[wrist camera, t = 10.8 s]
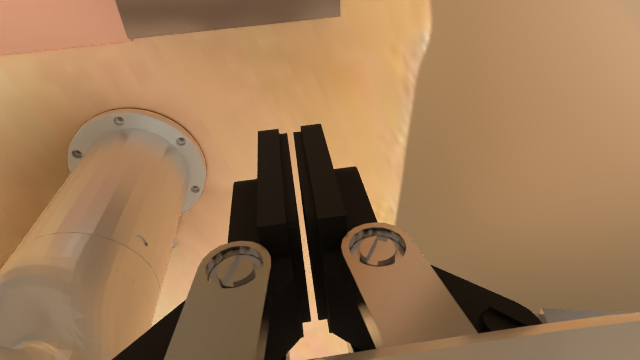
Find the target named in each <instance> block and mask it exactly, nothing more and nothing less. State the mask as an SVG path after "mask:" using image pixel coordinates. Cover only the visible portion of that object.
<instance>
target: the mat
mask: <svg viewBox="0 0 640 360" xmlns="http://www.w3.org/2000/svg"><path fill="white" fill-rule="evenodd" d="M131 41H132V39H128V38H127V35H126V32H125V29H124V26H123V23H122V20H121V17H120V14H119V11H118V8H117V4H116V1H115V0H0V55H9V54H18V53H28V52H37V51H46V50H56V49H65V48H74V47H84V46H93V45H103V44H112V43H121V42H131Z"/></svg>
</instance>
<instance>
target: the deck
mask: <svg viewBox="0 0 640 360" xmlns="http://www.w3.org/2000/svg"><path fill="white" fill-rule="evenodd" d="M115 1H116V4H117V8H118V11H119V14H120V17H121V20H122V23H123V26H124V29H125V32H126V35H127V38H128V39H133V38H142V37H152V36H161V35H170V34H180V33H189V32H199V31H208V30H217V29H227V28H236V27H246V26H255V25H264V24H274V23H283V22H293V21H302V20H311V19H321V18H330V17H339V16H340V0H115Z"/></svg>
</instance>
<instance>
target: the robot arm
mask: <svg viewBox="0 0 640 360" xmlns="http://www.w3.org/2000/svg"><path fill="white" fill-rule="evenodd" d="M120 117H121V118H123V119H121V118H120ZM293 133H294V141H295V149H296V158H297V166H298V174H299V182H300V190H301V198H302V206H303V214H304V221H305V229H306V236H307V243H308V250H309V257H310V264H311V271H312V278H313V285H314V292H315V299H316V306H317V313H318V320H324V319H327V321H328V327H329V333H334V334H335V335H337V336H338V337H340V338H342V339H343V340H345V341H346V342H347V346H348V351H349V353H348V354H341V355H335V356H328V357H322V358H316V359H309V360H640V313H635V312H615V311H594V310H593V311H592V310H571V309H551V308H542V309H541V312H540V314H534V313H532V312H531V311H530V310H529V309H527V308H526V307H524V306H522V305H520V304H518V303H516V302H515V301H512V300H510V299H508V298H505V297H503V296H501V295H499V294H496V293H494V292H492V291H489V290H487V289H485V288H483V287H480V286H478V285H476V284H473V283H471V282H469V281H467V280H464V279H462V278H460V277H457V276H455V275H453V274H451V273H448V272H446V271H444V270H441V269H439V268H437V267H434V266H432V265H430V264H429V263H428V261H427V260H426V258H425V257H424V256H423V255H422V253H421V252H420V250H419V249H418V247H417V246H416V244H415V243H414V241H413V240H412V239H411V237H410V236H409V235H408V234H407V233H406V232H405V231H404V230H401V229H400V228H398V227H396V226H394V225H390V224H387V223H377V220H376V217H375V215H374V212H373V209H372V207H371V204H370V201H369V199H368V196H367V193H366V191H365V188H364V185H363V183H362V180H361V177H360V175H359V172H358V170H357V168H356V167H347V168H339V169H333V165H332V162H331V158H330V155H329V151H328V148H327V144H326V140H325V137H324V133H323V130H322V126H321V124H315V125H306V126H301V132H293ZM181 138H184V139H181ZM68 168H69V172H70V175H69V176H68V178H67V179H66V180H65V182H64V183H63V185H62V186H61V187H60V189H59V190H58V191H57V193H56V194H55V196H54V197H53V198H52V200H51V201H50V202H49V204H48V205H47V207H46V208H45V209H44V211H43V212H42V213H41V215H40V216H39V218H38V219H37V220H36V222H35V223H34V224H33V226H32V227H31V229H30V230H29V231H28V233H27V234H26V235H25V237H24V238H23V240H22V241H21V242H20V244H19V245H18V246H17V248H16V249H15V251H14V252H13V253H12V255H11V256H10V257H9V259H8V260H7V261H6V263H5V264H4V266H3V267H2V269H1V270H0V360H290V353H289V350H290V349H291V348H292V347H293V346H294V345H295V344H296V343H297V342H298V340H299V339H300V338H301V337H304V335H303V325H302V323H304V322H310V321H311V316H310V308H309V300H308V292H307V284H306V276H305V268H304V260H303V252H302V243H301V235H300V227H299V219H298V212H297V204H296V197H295V189H294V182H293V174H292V167H291V159H290V152H289V144H288V137H287V133H285V134H279V130H278V129H274V130H265V131H258V175H257V179H254V180H246V181H238V182H234V186H233V195H232V205H231V215H230V225H229V235H228V243H227V244H224V245H221V246H219V247H218V248H216V249H214V250H213V251H211V252H210V253H209V254H208V255H207V256H206V257H205V258H204V259H203V260H202V262H201V263H200V265H199V267H198V269H197V272H196V275H195V277H194V280H193V283H192V285H191V288H190V291H189V293H188V296H187V299H186V300H185V301H184V302H182V303H181V304H180V305H179V306H177V307H176V308H175V309H174V310H173V311H171V312H170V313H169V314H168V315H166V316H165V317H164V318H163V319H161V320H160V321H159V322H158V323H156V324H155V325H154V326H153V327H151V325H152V321H153V317H154V313H155V309H156V305H157V301H158V298H159V294H160V291H161V287H162V283H163V279H164V276H165V272H166V268H167V264H168V260H169V257H170V253H171V249H172V248H174V247H175V246H177V244H178V240H177V237H176V235H175V234H176V230H177V226H178V223H179V219H180V215H182V214H183V213H185V212H186V211H188V210H189V209H190V208H191V207H192V206H193V205H194V204H195V203H196V202H197V201H198V199H199V198H200V196H201V194H202V192H203V189H204V186H205V182H206V176H207V172H206V162H205V159H204V155H203V153H202V151H201V149H200V147H199V145H198V144H197V142H196V141H195V140H194V138H193V137H192V136H191V135H190V134H189V133H188V132H187V131H186V130H185V129H184V128H183V127H181V126H180V125H178V124H177V123H175V122H174V121H172V120H171V119H169V118H166V117H164V116H162V115H160V114H157V113H154V112H150V111H146V110H141V109H130V108H127V109H115V110H111V111H107V112H103V113H101V114H99V115H97V116H95V117H93V118H91V119H90V120H89V121H87V122H86V123H85V124H84V125H82V127H81V128H80V129H79V130H78V131H77V133H76V134H75V136H74V137H73V139H72V141H71V143H70V146H69V149H68Z"/></svg>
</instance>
